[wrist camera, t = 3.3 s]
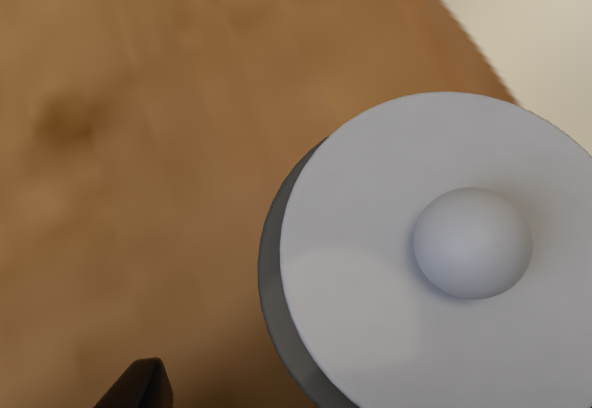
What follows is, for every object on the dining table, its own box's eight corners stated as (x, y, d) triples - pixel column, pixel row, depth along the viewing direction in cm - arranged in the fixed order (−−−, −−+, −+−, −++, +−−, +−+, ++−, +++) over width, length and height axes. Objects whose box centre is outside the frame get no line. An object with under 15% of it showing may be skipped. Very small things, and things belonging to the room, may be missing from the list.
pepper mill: (374, 415, 15) (604, 695, 3) (261, 320, 16) (123, 273, 4) (456, 297, 16) (857, 187, 4) (345, 214, 17) (421, -61, 5)
